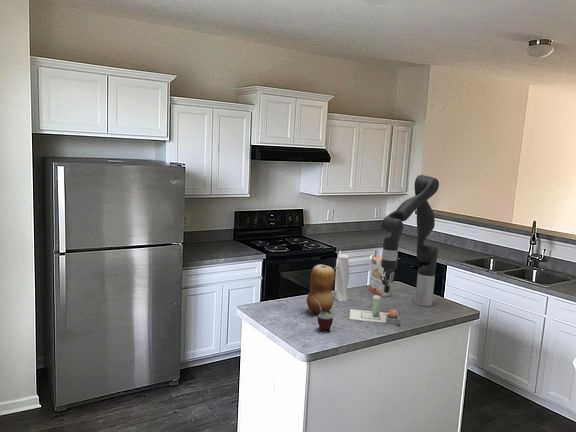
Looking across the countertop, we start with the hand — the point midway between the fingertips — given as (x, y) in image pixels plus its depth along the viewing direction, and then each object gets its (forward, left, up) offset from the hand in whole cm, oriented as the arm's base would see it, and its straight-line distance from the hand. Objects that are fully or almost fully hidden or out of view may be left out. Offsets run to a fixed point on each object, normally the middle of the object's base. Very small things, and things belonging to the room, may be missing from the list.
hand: (386, 292), depth 235 cm
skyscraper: (-25, -23, -15) cm, 37 cm away
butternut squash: (-2, -33, -15) cm, 36 cm away
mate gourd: (+20, -29, -15) cm, 38 cm away
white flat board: (-3, -5, -15) cm, 16 cm away
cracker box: (-46, -1, -15) cm, 48 cm away
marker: (-3, -4, -14) cm, 15 cm away
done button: (+2, +4, -11) cm, 12 cm away
